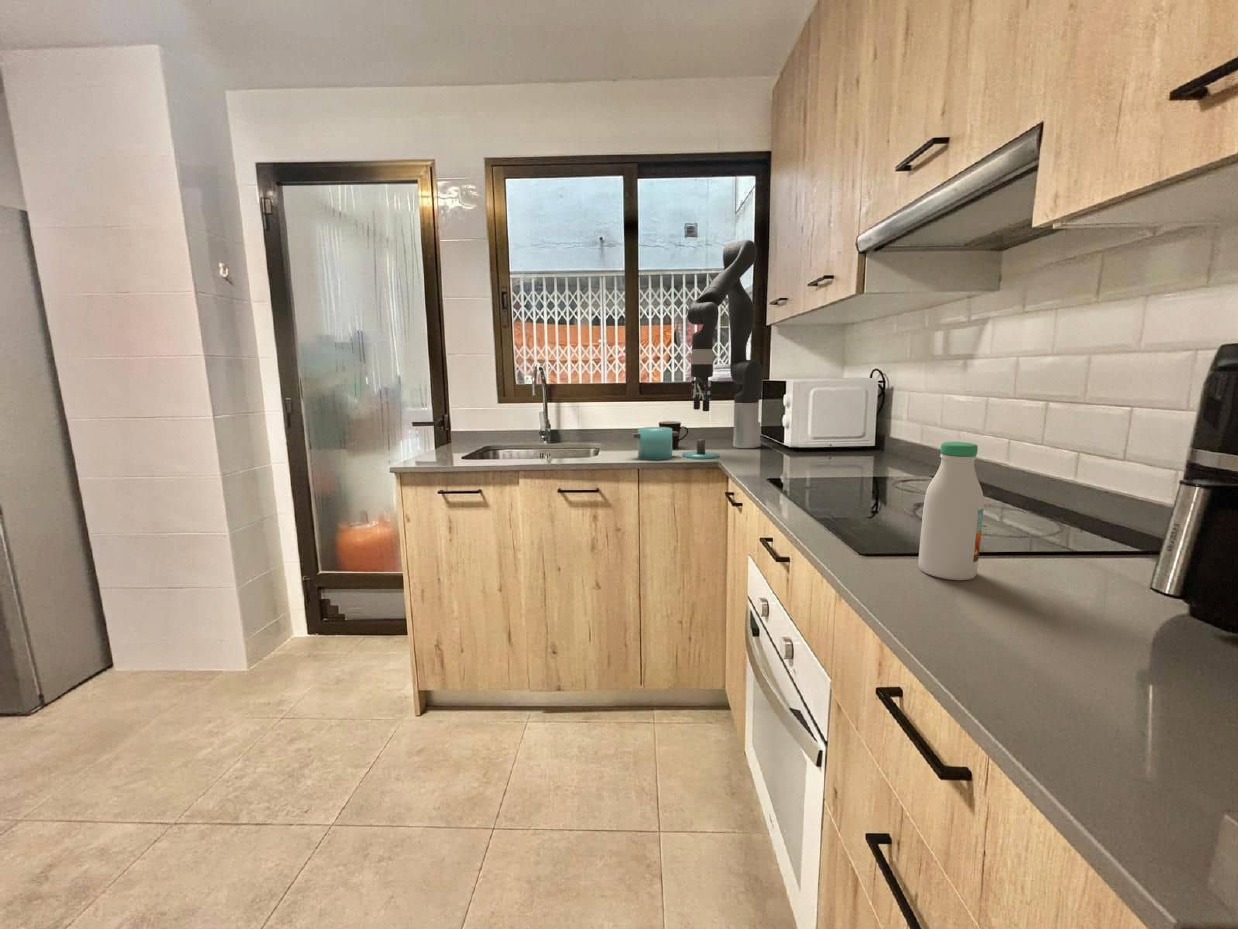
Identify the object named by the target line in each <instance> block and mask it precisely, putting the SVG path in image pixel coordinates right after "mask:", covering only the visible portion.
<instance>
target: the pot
mask: <svg viewBox="0 0 1238 929" xmlns="http://www.w3.org/2000/svg"><path fill="white" fill-rule="evenodd" d="M672 436H679V437H680V435H679V432H676V431H672V428H668V427H659V426H647V427H646V426H645V427H644V426H643V427H638V428H637V432H631V433H630V437H631V438H632V439H637V457H638V459H640V460H648V461H662V460H663V461H664V460H669V459H673V449H672Z"/></svg>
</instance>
